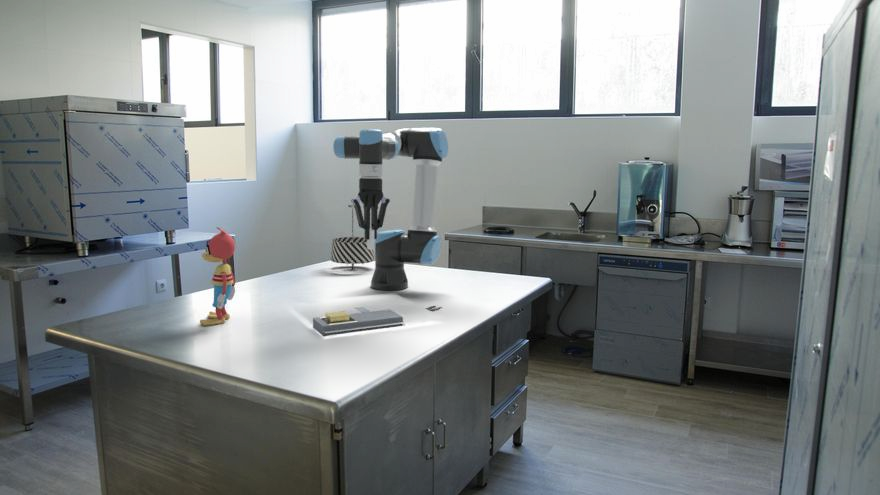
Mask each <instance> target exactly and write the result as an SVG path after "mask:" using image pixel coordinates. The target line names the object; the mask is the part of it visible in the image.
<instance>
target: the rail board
mask: <svg viewBox="0 0 880 495" xmlns="http://www.w3.org/2000/svg"><path fill="white" fill-rule="evenodd" d="M348 314H349V315H350V322H341V323H333V324H327V323H326V322H324V319H325V316H320V317H313V318H312V328H313V329H314V330H315V331H316V332H317V333H319V334H320V335H322V337H327V336H334V335H342V334H351V333H357V332H366V331H373V330H382V329H389V328H398V327H403V326H404V324H403V323H401V322H404V316H402V315H400V314H398V313H397V312H395V311H394V310H391V309H382V310H376V311H375V310H374V311H371V312H363V313H362V312H358V313H357V312H356V313H348ZM393 323H396V324H393ZM384 324H386V325H384ZM387 324H388V325H387ZM377 325H379V326H377ZM370 326H371V327H370ZM361 327H363V328H361ZM351 328H355V329H351ZM356 328H357V329H356ZM344 329H345V330H344ZM346 329H347V330H346ZM348 329H349V330H348ZM336 330H338V331H336ZM339 330H340V331H339ZM329 331H332V332H329Z"/></svg>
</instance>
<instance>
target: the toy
mask: <svg viewBox="0 0 880 495" xmlns="http://www.w3.org/2000/svg"><path fill="white" fill-rule="evenodd" d="M216 229H217V230H219V231H220V232H219V233H217V234H214V236H212V238H211V239H209V240H206V245H205V247H206V248H205V252H203V253H202V254H201V256H202V259H203V260H204V261H206V262H208V263H221V262H222V263H221V264H219V265H217V266H216V268H215V269H214V272H213V276H212V280H211V284H212V285H213V302H212V308H215V312H214V311H209V312H208V314H207V318H209V319H200V320H199V323H200V325H201V326H204V327H211V326H216V325H221V324H225V323H226V320H228V319H230V318H231V316H230V314H229V313H228V312H227V310H226V305H227V302H228V301H232V300H233V298H234V296H235V293H236V280H235V277H234V273H233V271H232V267H231V265H230V264H229V263H227V259H230V258H231V257H233V255H234V253H235V249H236V243H235V239H234V238H233V237H232V236H231V235H230V234H228V233H227V232H226V231H225V230H224V229H222V228H220V227H217V226H216Z"/></svg>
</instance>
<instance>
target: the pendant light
mask: <svg viewBox="0 0 880 495" xmlns="http://www.w3.org/2000/svg"><path fill="white" fill-rule="evenodd" d="M347 207H348V208H351V209H352V211H351V215H352V216H351V218H352V220H351V222H352V225H351V230H352V232H351V236H345V237H344V236H343V237H342V236H341V237H334V238H332V239H331V240H332V243H331V253H330V254H331V256H330V262H332V263H337V264H345V265H349V264H350V265H351V270H354V269H355V265H356V264H358V265H359V264H362V265H364V264H368V263H372V262H375V249H374V250H369V249H367V240H366V239H365V236H364V237H363V236H354V209H355V207H354V205H353V204H348V205H347Z"/></svg>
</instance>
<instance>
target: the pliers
mask: <svg viewBox="0 0 880 495" xmlns="http://www.w3.org/2000/svg"><path fill="white" fill-rule="evenodd" d="M440 308H441V309H442V308H443V307H442V306H438V307H436V305H431V306H429V307H425V308H424V309H426V310H427V311H429V312H431V311H432V312H436V311H439V310H441V309H440ZM435 310H436V311H435Z"/></svg>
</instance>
